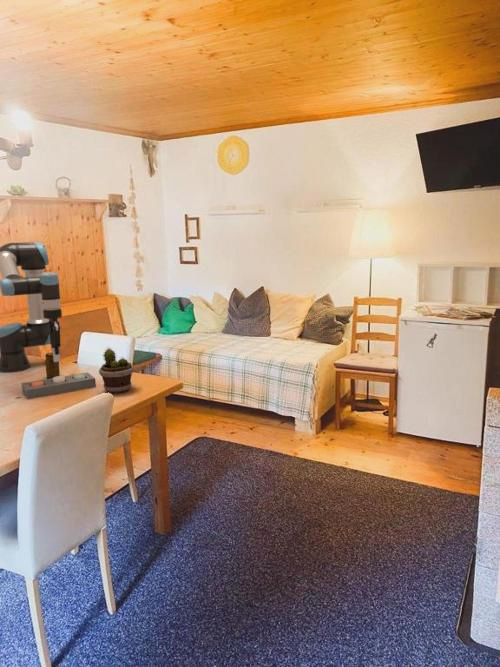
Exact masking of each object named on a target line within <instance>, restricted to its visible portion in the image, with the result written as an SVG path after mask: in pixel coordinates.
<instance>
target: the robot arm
mask: <svg viewBox="0 0 500 667" xmlns="http://www.w3.org/2000/svg"><path fill="white" fill-rule="evenodd" d="M49 264H50V262H49V255H48V252H47V249H46V246H45V244H44V243H43V242H39V241H37V242H36V241H29V242H9V243H6V244H5V243H4V244H3V245H1V246H0V276H1V279H0V293H1V295H2V296H5V297H13V296H14V297H16V296H23V295H24V296H25V295H26V297H27V298H26V299H27V310H28V319H27V320H26V322H25V323H26V324H24V325H23V323H22V322H11V323H7V324H5V325H1V326H0V372H2V373H14V372H15V373H16V372H21V371H24V370H28V369H29V368H31V363H30V360H29V358H28V356H27V354H26V349H25V348H30V347H31V348H32V347H39V346H47V345H50V346H51V349H52V350H51V351H52V353H53V360H54V362H58V361H59V362H61V360H62V359H61V351H60V347H61V326H60V322H59V320H58V319H60V318H62V317H63V311H62V309H61V308H62V301H61V300H62V299H61V294H60V293H61V292H60V279H59V275H58V273H56V272H45V270H46V269H47V267H46V266H48V265H49ZM18 267H20V269H21V271H22V272H23V273H24V277H22V275H21V273H20V271H19V268H18Z"/></svg>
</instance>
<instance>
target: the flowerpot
mask: <svg viewBox="0 0 500 667" xmlns="http://www.w3.org/2000/svg"><path fill="white" fill-rule="evenodd" d="M102 357H103V358H102V359H103V361H104V364H102V365H101V367H100V368H99V370H98V374H99V376H101V378H102V381H103V388H104V391H106V392H107V393H108V392H109V393H108V394H122V393H126V392H128V391H129V390H130V388H131V387H132V385H133V384H132V381H131V380H132V375H133V373H134V371H135V368H134V366H133V365H132V363H131V362H129V361H128V359H126V357H121V358H119V360H117V354H116V351H115V350H113V349H112V348H109V347H106V349H105V351H104V352H103V354H102Z"/></svg>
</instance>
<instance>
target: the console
mask: <svg viewBox="0 0 500 667" xmlns="http://www.w3.org/2000/svg"><path fill="white" fill-rule="evenodd" d="M78 374H79V373H76V374H70V375H63V376H64V377H65V382H60V383H53V378H51V379H46V378H44V379H39V380H38V381H43V382H44V385H42V386H36V387H32V386H31V383H32V382H35V381H36V380H34V381H27V382H26V381H25V382H22V383H21V389H22V393H23V394H24V396H25V398H26V399H27V400H30V399H37V398H42V397H48V396H53V395H58V394H64V393H69V392H75V390H76V391H79V390H80V389H81V390H85V389H86V388H87V389H92V388H96V387H97V380H96V377H94V376H93V375H91V373H89V372H81V373H80V374H84V375H85V378H83V379H77V380H74V375H78ZM87 389H86V390H87Z"/></svg>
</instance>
